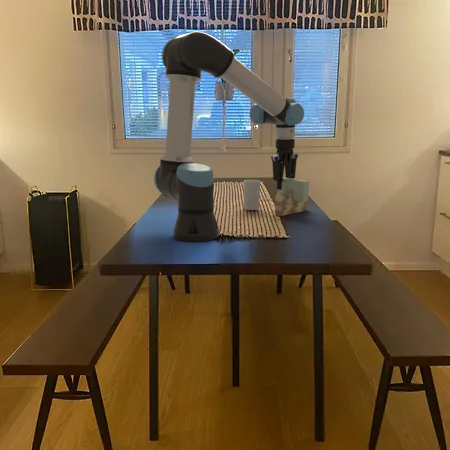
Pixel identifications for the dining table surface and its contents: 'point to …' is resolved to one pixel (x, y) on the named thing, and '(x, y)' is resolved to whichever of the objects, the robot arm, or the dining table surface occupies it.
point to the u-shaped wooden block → (288, 205)
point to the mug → (251, 194)
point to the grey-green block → (296, 188)
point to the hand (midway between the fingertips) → (283, 196)
